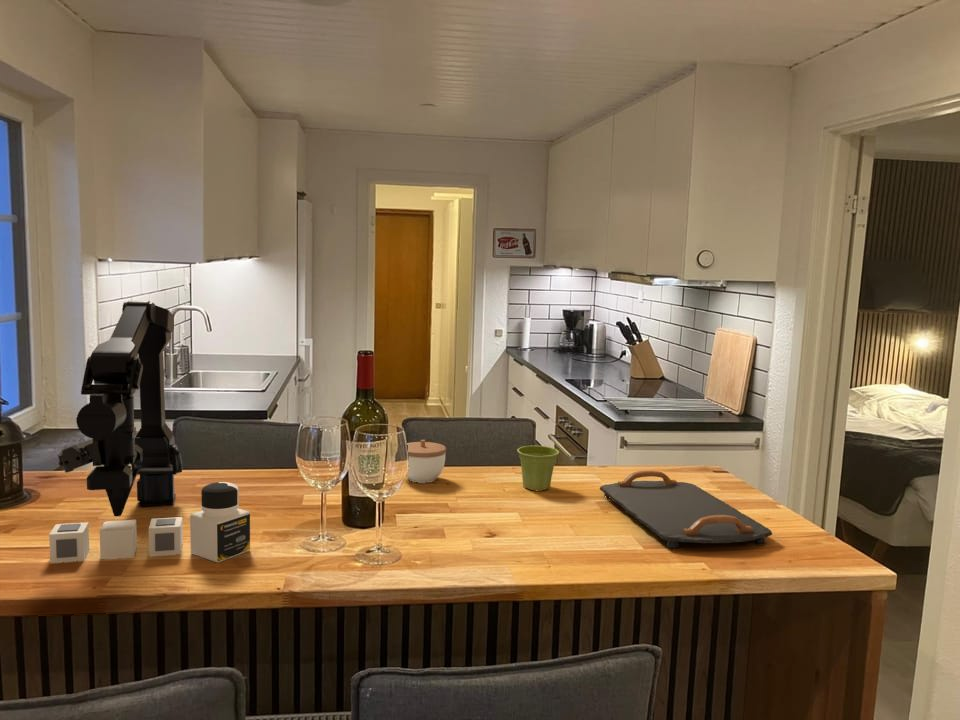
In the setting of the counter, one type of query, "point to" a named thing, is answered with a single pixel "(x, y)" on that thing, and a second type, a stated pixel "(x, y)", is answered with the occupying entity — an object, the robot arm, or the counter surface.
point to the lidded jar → (425, 461)
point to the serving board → (683, 511)
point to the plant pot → (537, 466)
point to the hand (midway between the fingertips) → (117, 515)
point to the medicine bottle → (220, 524)
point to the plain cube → (118, 539)
